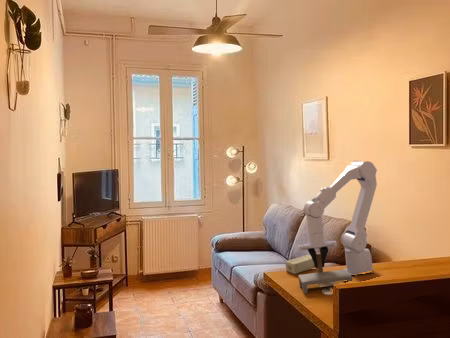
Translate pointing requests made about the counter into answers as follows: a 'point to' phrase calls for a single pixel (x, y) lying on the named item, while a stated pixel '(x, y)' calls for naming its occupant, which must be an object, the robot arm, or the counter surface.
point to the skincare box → (299, 264)
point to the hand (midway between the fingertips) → (319, 266)
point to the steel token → (327, 291)
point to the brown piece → (321, 270)
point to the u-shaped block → (323, 278)
